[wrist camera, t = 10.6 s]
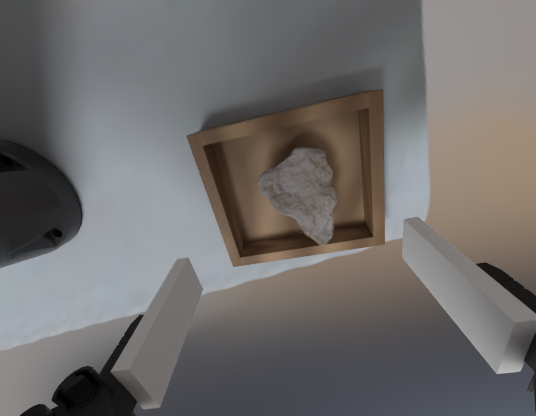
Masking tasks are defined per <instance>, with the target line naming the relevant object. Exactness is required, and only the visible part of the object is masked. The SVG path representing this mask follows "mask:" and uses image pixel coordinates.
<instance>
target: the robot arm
mask: <svg viewBox="0 0 536 416" xmlns="http://www.w3.org/2000/svg"><path fill="white" fill-rule="evenodd" d="M80 224H81V210H80V206H79V202H78V200H77V197H76V195H75V193H74V191H73V189H72V188H71V186H70V185H69V183H68V182H67V180H66V179H65V178H64V177H63V175H62V174H61V173H60V172H59V171H58V170H57V169H56V168H55V167H54V166H53V165H52V164H50V163H49V162H48V161H47V160H45V159H44V158H43V157H41V156H40V155H38V154H37V153H35V152H33V151H31V150H29V149H28V148H25V147H23V146H21V145H18V144H15V143H12V142H9V141H4V140H0V268H2V267H5V266H8V265H11V264H15V263H18V262H21V261H24V260H27V259H31V258H34V257H37V256H40V255H43V254H47V253H49V252H52V251H54V250H56V249H58V248H59V247H61V246H62V245H64V244H65V243H67V242H68V241H70V240H71V239H72V238H73V237H74V236H75V235H76V234H77V232H78V230H79V228H80ZM403 259H404V260H405V261H406V262H407V264H408V265H409V266H410V267H411V269H412V270H413V271H414V272H415V274H416V275H417V276H418V277H419V279H420V280H421V281H422V282H423V283H424V285H425V286H426V287H427V288H428V290H429V291H430V292H431V293H432V295H433V296H434V297H435V298H436V300H437V301H438V302H439V303H440V304H441V306H442V307H443V308H444V309H445V311H446V312H447V313H448V314H449V316H450V317H451V318H452V319H453V320H454V322H455V323H456V324H457V325H458V327H459V328H460V329H461V330H462V331H463V333H464V334H465V335H466V336H467V338H468V339H469V340H470V341H471V343H472V344H473V345H474V346H475V347H476V349H477V350H478V351H479V352H480V354H481V355H482V356H483V357H484V359H485V360H486V361H487V362H488V364H489V365H490V366H491V367H492V369H493V370H494V371H495V372H496V373H497V374H500V373H511V372H520V371H521V368H522V366H523V364H524V362H526V363H527V364H528V365H529V366H530V367H531V368H532V369H533V370H534V371H535V373H534V375H533V377H532V379H531V381H530V383H529V386H528V389H527V390H529V391H530V392H532V391H533V389H534V398H535V411H536V296H535V295H534V294H533V293H531V292H530V291H529V290H527V289H525V288H524V287H523V286H522V285H521V284H519V283H518V282H517V281H514V280H513V278H511V277H510V276H509V275H508V274H506V273H505V272H503V271H502V270H501V269H498V268H496V267H494V266H492V265H490V264H488V263H479V264H475V263H473V262H472V261H471V260H470V259H469V258H467V257H466V256H465V255H464V254H462V253H461V252H460V251H459V250H458V249H456V248H455V247H454V246H453V245H451V244H450V243H449V242H448V241H447V240H445V239H444V238H443V237H442V236H441V235H439V234H438V233H437V232H435V231H434V230H433V229H432V228H430V227H429V226H428V225H427V224H426V223H425V222H423V221H422V220H421V219H420V218H419V217H415V218H409V219H404V229H403ZM202 290H203V288H202V286H201V284H200V282H199V280H198V277H197V275H196V273H195V271H194V269H193V267H192V264H191V262H190V260H189V258H182V259H177V260H176V262H175V264H174V265H173V267H172V269H171V270H170V272H169V274H168V275H167V277H166V279H165V281H164V282H163V284H162V286H161V287H160V289H159V291H158V292H157V294H156V296H155V297H154V299H153V301H152V303H151V304H150V306H149V308H148V309H147V311H146V313H145V314H144V315H139V316H138V317H137V318H136V319H135V320H134V321H133V322H132V323H131V325H130V326H129V328H128V329H127V331H126V332H125V334H124V336H123V337H122V339H121V340H120V342H119V345H117V347H116V349H115V350H114V352H113V353H112V355H111V356H110V358H109V360H108V361H107V363H106V364H105V366H104V367H103V369H102V371H101V372H100V374H98V373H97V372H96V371H95V370H94V369H93V368H92V367H90V366H86V367H82V368H80V369H78V370H76V371H74V372H73V373H72V374H70V375H69V376H68V377H67V378H66V379H65V380H64V381H63V382H62V383H61V384H60V385H59V386H58V388H57V389H56V391H55V392H54V395H53V397H52V401H53V402H54V403H56V404H57V405H58V406H57V407H55V408H53V409H51V410H50V409H49V408H48V407H47V406H45V405H44V404H38V405H35V406H33V407H31V408H30V409H28V410H26V411H25V412H23V413H22V414H21V415H20V416H136V415H135V414H134V412H133V410H134V408H135V405H136V403H137V402H138V404H139V405H140V406H141V407H142V408H143V409H150V408H159V407H160V406H161V403H162V400H163V398H164V395H165V392H166V389H167V387H168V384H169V381H170V378H171V376H172V373H173V370H174V367H175V364H176V362H177V359H178V356H179V353H180V351H181V348H182V345H183V343H184V340H185V337H186V334H187V331H188V329H189V326H190V323H191V320H192V318H193V315H194V312H195V310H196V307H197V304H198V301H199V299H200V296H201V293H202Z"/></svg>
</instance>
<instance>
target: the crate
mask: <svg viewBox="0 0 536 416" xmlns="http://www.w3.org/2000/svg"><path fill="white" fill-rule="evenodd" d="M187 139H188V142H189V144H190V147H191V150H192V153H193V156H194V158H195V161H196V164H197V167H198V170H199V172H200V175H201V178H202V181H203V184H204V186H205V189H206V192H207V195H208V197H209V200H210V203H211V206H212V209H213V211H214V214H215V217H216V220H217V223H218V225H219V228H220V231H221V234H222V237H223V239H224V242H225V245H226V248H227V251H228V253H229V256H230V259H231V262H232V265H233V267H236V266H243V265H250V264H256V263H263V262H270V261H276V260H283V259H290V258H297V257H303V256H310V255H317V254H323V253H330V252H337V251H343V250H350V249H357V248H364V247H370V246H377V245H383V244H385V218H384V141H383V89H381V90H372V91H365V92H361V93H356V94H352V95H348V96H344V97H340V98H335V99H331V100H327V101H323V102H319V103H315V104H310V105H306V106H302V107H298V108H294V109H289V110H285V111H281V112H277V113H273V114H269V115H264V116H260V117H256V118H252V119H248V120H243V121H239V122H235V123H231V124H227V125H223V126H218V127H214V128H210V129H206V130H202V131H198V132H196V133H193V134H190V135H188V136H187ZM299 146H306V147H310V148H313V149H314V148H318V149H321V150H323V151H325V154H326V161H327V164H328V165H329V166H330V168H331V170H332V171H333V177H332V185H333V187H334V189H335V191H336V194H337V199H338V201H337V204H336V206H335V208H334V210H333V219H334V220H333V226H334V230H333V236H332V238H331V239H330V240H329V241H328V242H327V244H325V245H324V246H321V245H319V244H318V243H317V242H316V241H314V240H313V239H312V238H310V237H308V236H307V235H306V234H305V233H304V232H303V230H302V229H301V227H300V226H299V224H298V223H297V221H296V220H295V219H294V218H292V217H290V216H286V215H282V214H280V213H278V212H277V211H276V210H275V208H274V207H273V206H272V204H271V203H270V201H269V200H268V199H267V198H266V197H265V196H264V195H263V194H261V192H259V188H258V185H257V179H258V178H259V177H260V176H261V174H262V173H263V172H264V171H266V170H268V169H271V168H274V167H276V166H277V165H279V164H280V163H281V162H283V161H284V160H285V159H286V158H288V157H289V156H290V153H291V152H292V150H293V149H294V148H296V147H299Z"/></svg>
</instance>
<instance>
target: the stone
mask: <svg viewBox="0 0 536 416" xmlns="http://www.w3.org/2000/svg"><path fill="white" fill-rule="evenodd" d="M332 177H333V171H332V170H331V168H330V166H329V165H328V164H327V161H326V154H325V151H323V150H321V149H318V148H314V149H313V148H310V147H306V146H299V147H296V148H294V149H293V150H292V152H291V153H290V156H289V157H288V158H286V159H285V160H284V161H283V162H281V163H280V164H279V165H277V166H276V167H274V168H271V169H268V170H266V171H264V172H263V173H262V174H261V176H260V177H259V178H258V179H257V185H258V188H259V192H261V194H263V195H264V196H265V197H266V198H267V199H268V200H269V201H270V203H271V204H272V206H273V207H274V208H275V210H276V211H277V212H278V213H280V214H282V215H286V216H290V217H292V218H294V219H295V220H296V221H297V223H298V224H299V226H300V227H301V229H302V230H303V232H304V233H305V234H306V235H307V236H308V237H310V238H312V239H313V240H314V241H316V242H317V243H318V244H319V245H321V246H324V245H325V244H327V242H328V241H329V240H330V239H331V238H332V236H333V230H334V226H333V220H334V219H333V210H334V208H335V206H336V204H337V201H338V199H337V194H336V191H335V189H334V187H333V185H332Z"/></svg>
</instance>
